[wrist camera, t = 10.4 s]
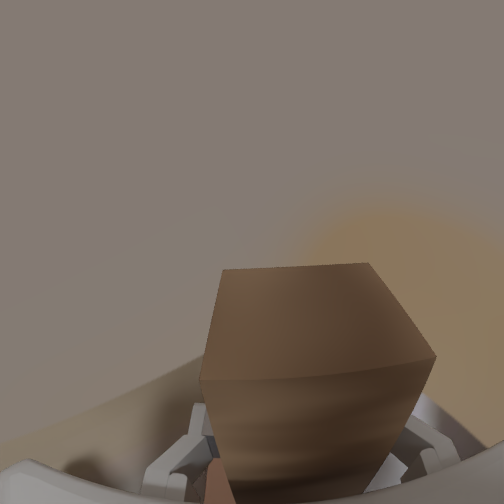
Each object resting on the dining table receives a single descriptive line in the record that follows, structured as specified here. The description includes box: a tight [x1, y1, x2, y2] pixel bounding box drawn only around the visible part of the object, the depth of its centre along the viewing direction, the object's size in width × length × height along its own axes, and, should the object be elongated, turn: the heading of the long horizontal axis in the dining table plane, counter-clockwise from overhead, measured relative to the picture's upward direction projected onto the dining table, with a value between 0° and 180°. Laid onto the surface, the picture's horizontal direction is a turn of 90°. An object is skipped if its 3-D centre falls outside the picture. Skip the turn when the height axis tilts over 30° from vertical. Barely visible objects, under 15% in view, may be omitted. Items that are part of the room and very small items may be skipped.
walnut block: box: [199, 263, 437, 504], centre depth 10 cm, size 5×5×12 cm
